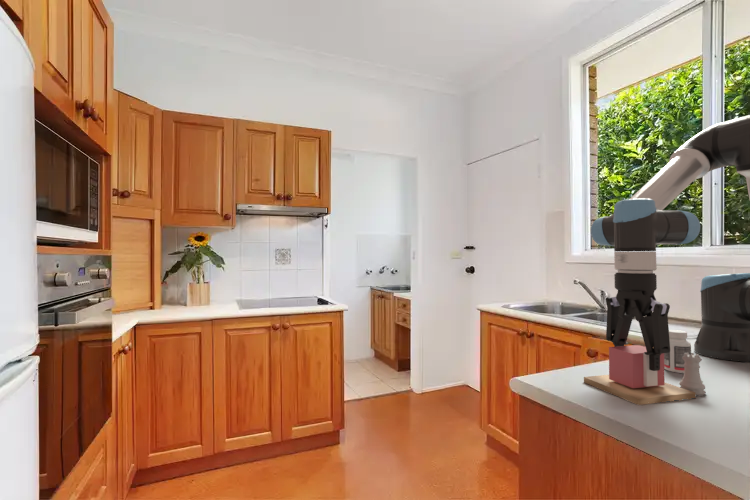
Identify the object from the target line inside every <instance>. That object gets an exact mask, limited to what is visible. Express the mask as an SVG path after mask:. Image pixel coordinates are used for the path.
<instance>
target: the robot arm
mask: <svg viewBox="0 0 750 500" xmlns="http://www.w3.org/2000/svg"><path fill="white" fill-rule="evenodd" d="M670 155H671V156H669V160H668V163H666V165H664V166H663V167H662V168H661V169H660V170H659V171H658V172H657V173H656V174H654V176H653V177H651V178H650V179H649V180H648V181H647V182H646V183H645V184H644V185H643V186H642V187H641V188H640V189H639V190H638V191H636V192H635V193H634V194H633V195H632V196H631V197H629V199H623V200H619V201H617V202H616V203H615V204H614V205H613V206H614V208H613V214H611V215H609V216H608V215H605V216H602V217H598V218H596V219H595V220H594V221H593V222H592V224H591V227H590V235H591V237H592V239H593V240H594V242H595V244H597V245H599V246H610V247H614V249H613V250H614V259H613V260H614V261H613V262H614V270H617V272H615V274H614V289H616V291H617V294H616V295H615V296H609V297H606V298H605V304H606V308H607V309H606V331H605V333H606V335H605V339H606V340H607V342H611V343H612V345H614V346H613V347H618V346H629V342H628V341H627V340H628V337H629V333H630V330H631V326H632V323H633V319H634V318H635V320H636V321H637V322H638V324H639V328H640V333H641V336H642V339H643V343H644V347H646V350H647V352H644V353H645V354H643V370H644V386H657V385H658V378H657V371H659V370H660V355H661V354H663V353H669V352H670V340H669V330H670V329H669V317H668V316H669V312H670V307H671V306H670V304H669V303H668V302H667V303H665V302H664V303H662V302H660V301H657V298H656V297H655V291H656V290H657V289H658V287H657V286H658V285H657V274H656V273H654V271H657V268H658V267H657V245H673V246H674V245H675V246H676V245H677V246H679V245H684V244H689V243H691V242H693V241H695V240H696V238H697V237H698V236H699V234H700V231H701V223H700V220H699V218H698V217H697V215H695V213H692V212H690V211H685V210H681V209H676V210H670V209H669V210H667V209H666V210H665V208H666V207H667V206H668V205H669V204H670V203H672V202H673V201H674V200H675V199H676V198H677V197H678V196H679V195H680V194H681V193H682V192H684V191H685V189H686V188H687V187H689V185H691V184H692V183H693V182H694V181H695V180H698V179H701V178H703V177H705V176H706V175H707V174H708V173H709V172H711V171H714V170H717V169H720V168H726V167H730V166H731V167H732V166H735V169H736V173H737V174H740V175H741V176H744V177H745V181H746V185H747V192H748V198H749V200H750V114H748V115H743V116H740V117H737V118H734V119H730V120H727V121H723V122H719V123H715V124H714V125H713V124H712V125H711V126H709V127H707V128H706V129H703V130H702V131H700V132H698V133H697V134H695V135H693V137H691V138H690V139H688V140H687V141H685V143H683V144H682V145H680V146H679V147H678V148H677V149H676V150H675V151H674V152H673V153H672V154H670ZM700 282H701V283H700V291H699V292H700V309H701V310H700V312H701V313H700V314H701V327H700V328H699V331H698V334H697V335H696V338H695V341H694V345H693V346H694V347H693V349H694V352H695V354H699V355H701V356H704V357H709V358H714V359H719V360H726V361H734V362H746V363H750V272H745V273H744V272H743V273H724V274H714V275H713V274H711V275H705V276H704V277H703V278H701V281H700Z"/></svg>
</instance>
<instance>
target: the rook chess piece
mask: <svg viewBox="0 0 750 500" xmlns="http://www.w3.org/2000/svg"><path fill="white" fill-rule="evenodd" d="M682 358H683V360H684V361H685V364H684V366H685V370H684V373H683V377H682V378H681V380H680V381H679V384H678V385H679V387H680V388H683V389H686V390H689V391H692V392H695V395H696V396H697V395H702V396H705V394H706V393H707V391H706V390H705V389H706V385H705V384H703V381H702V378H701V374H700V368H701V366H700V362H702V358H701V357H700V354H698V353H694V352H691V355H689V353H684V356H683V357H682Z"/></svg>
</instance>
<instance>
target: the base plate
mask: <svg viewBox="0 0 750 500" xmlns="http://www.w3.org/2000/svg"><path fill="white" fill-rule="evenodd" d="M583 383H584V384H587V385H590V386H592V387H594V388H597V389H599V390H602V391H604V392H606V393H608V394H610V395H613V396H616V397H618V398H620V399H623V400H625V401H627V402H629V403H632V404H635V405H637V406H642V405H650V404H657V403H659V404H660V402H661V403H667V402H666V401H670V402H675V401H674V400H679V401H683V400H682V399H688V400H692V399H691V398H697V397H696V396H697V395H695V392H692V391H689V390H686V389H683V388H680V387H681V386H677V385H674V384H671V383H669V382H665V385H662V386H651V387H641V388H631V387H628V386H626V385H623V384H620V383H618V382H615V381H612V380H610V379H609V374H601V375H591V376H584V377H583Z"/></svg>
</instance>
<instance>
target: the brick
mask: <svg viewBox="0 0 750 500" xmlns="http://www.w3.org/2000/svg"><path fill="white" fill-rule="evenodd" d="M644 352H647V350H646V347H645V345H639V344H638V345H637V344H636V345H635V344H634V345H624V346H618V347H614V346H609V347H608V375H609V379H610V380H612V381H615V382H618V383H620V384H623V385H626V386H628V387H631V388H641V387H651V386H644V370H643V354H645V353H644ZM657 378H658V385H657V386H662V385H665V383H666V382H665V368H664V353H663V354H661V355H660V370H659V371H657Z"/></svg>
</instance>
